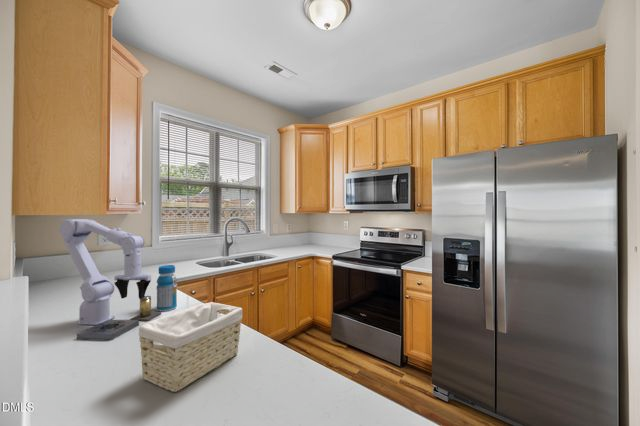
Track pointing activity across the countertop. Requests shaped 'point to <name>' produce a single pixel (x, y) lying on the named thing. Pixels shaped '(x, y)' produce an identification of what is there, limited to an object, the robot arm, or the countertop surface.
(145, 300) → the cylindrical knob
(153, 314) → the mat
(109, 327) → the housing
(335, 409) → the countertop surface
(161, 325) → the storage basket
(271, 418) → the countertop surface
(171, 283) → the blue bottle
